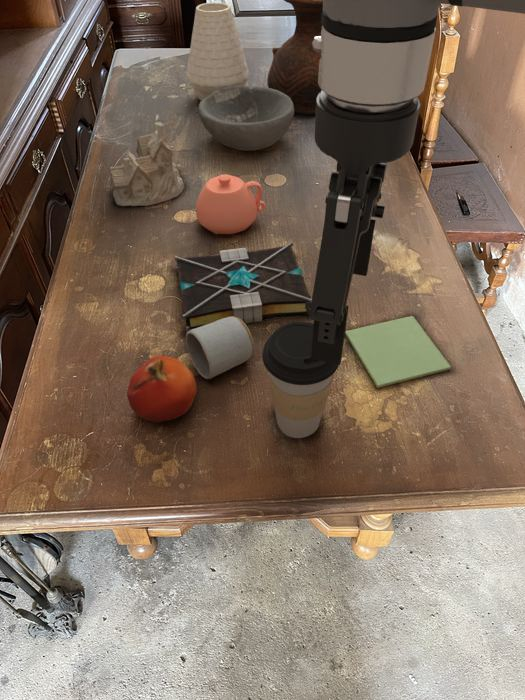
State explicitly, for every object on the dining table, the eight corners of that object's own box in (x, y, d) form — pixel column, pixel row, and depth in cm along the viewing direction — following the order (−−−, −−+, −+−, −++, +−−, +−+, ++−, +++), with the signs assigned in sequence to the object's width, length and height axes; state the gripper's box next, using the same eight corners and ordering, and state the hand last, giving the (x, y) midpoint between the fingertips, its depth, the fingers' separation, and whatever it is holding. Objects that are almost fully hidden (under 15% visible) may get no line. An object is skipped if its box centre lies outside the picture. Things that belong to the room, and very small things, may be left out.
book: (291, 257, 101) (292, 234, 98) (314, 316, 90) (315, 293, 86) (176, 271, 99) (172, 248, 95) (183, 334, 87) (179, 310, 84)
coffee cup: (302, 461, 70) (307, 386, 59) (249, 422, 75) (245, 346, 64) (345, 418, 75) (357, 341, 64) (293, 383, 80) (296, 306, 69)
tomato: (201, 382, 80) (196, 344, 74) (195, 433, 74) (188, 395, 68) (139, 381, 80) (129, 343, 75) (127, 432, 74) (115, 395, 68)
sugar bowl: (193, 211, 113) (188, 165, 106) (259, 203, 115) (258, 157, 108) (201, 244, 105) (196, 196, 97) (271, 235, 107) (271, 187, 99)
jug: (339, 89, 159) (349, -34, 137) (351, 120, 144) (365, -13, 122) (265, 92, 158) (264, -32, 137) (269, 123, 143) (269, -10, 122)
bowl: (192, 162, 128) (188, 119, 121) (210, 122, 144) (207, 82, 137) (289, 166, 126) (290, 123, 119) (296, 125, 142) (297, 85, 135)
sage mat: (450, 369, 81) (451, 366, 81) (377, 388, 79) (377, 385, 78) (412, 318, 89) (412, 315, 89) (344, 333, 87) (345, 331, 86)
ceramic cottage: (178, 164, 127) (166, 100, 116) (187, 202, 116) (174, 136, 105) (112, 176, 126) (93, 112, 114) (115, 216, 115) (94, 150, 104)
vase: (192, 114, 148) (182, 19, 131) (186, 91, 159) (175, 0, 143) (255, 108, 150) (253, 13, 133) (244, 85, 162) (240, -4, 145)
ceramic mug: (258, 365, 82) (257, 328, 77) (212, 389, 79) (207, 352, 73) (221, 327, 88) (217, 290, 83) (177, 348, 85) (170, 311, 80)
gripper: (351, 36, 48) (331, 237, 63) (268, 164, 32) (269, 395, 47) (437, 43, 46) (396, 248, 62) (397, 182, 30) (354, 415, 45)
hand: (341, 312), depth 54 cm, fingers open, 13 cm apart
